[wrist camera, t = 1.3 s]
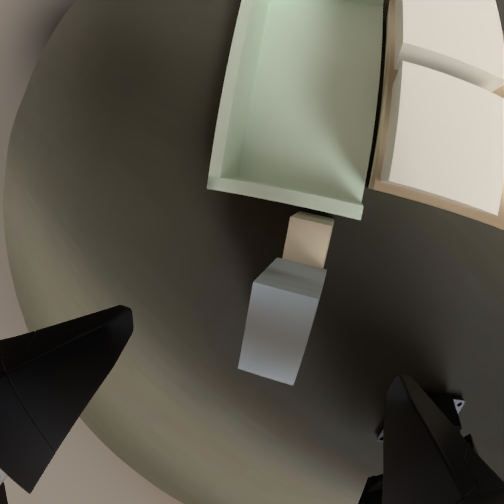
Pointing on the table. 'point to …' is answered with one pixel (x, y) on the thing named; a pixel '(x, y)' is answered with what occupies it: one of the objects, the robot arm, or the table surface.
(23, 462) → the robot arm
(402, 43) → the tile
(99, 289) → the table surface
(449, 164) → the tile
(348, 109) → the tray
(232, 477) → the table surface
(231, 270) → the table surface
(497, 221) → the tan tray
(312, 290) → the grey and tan block
